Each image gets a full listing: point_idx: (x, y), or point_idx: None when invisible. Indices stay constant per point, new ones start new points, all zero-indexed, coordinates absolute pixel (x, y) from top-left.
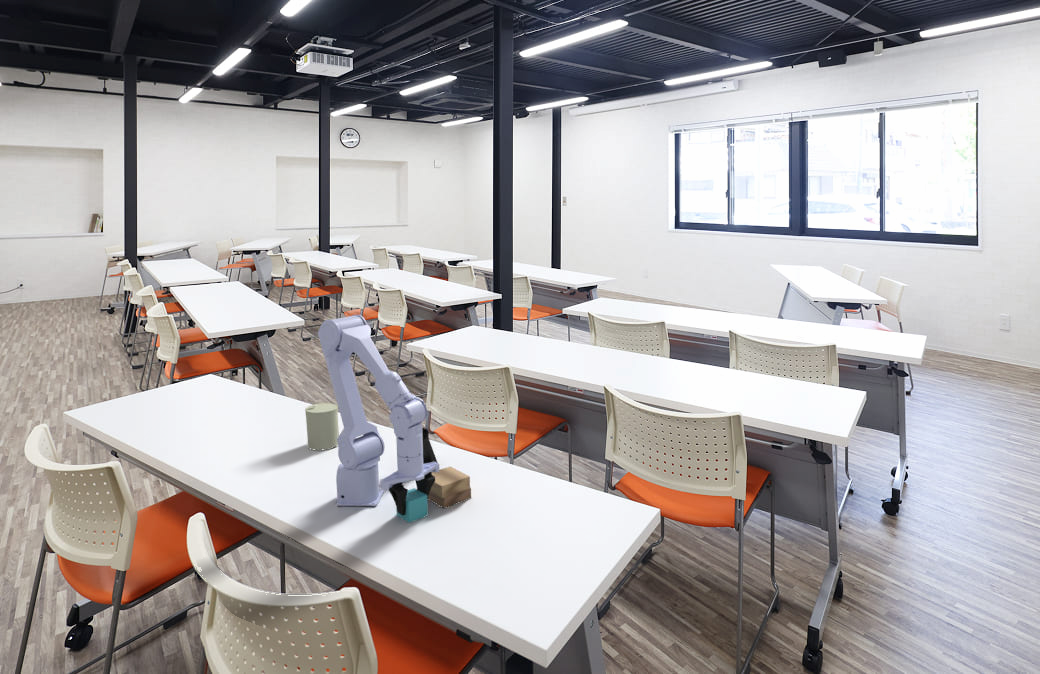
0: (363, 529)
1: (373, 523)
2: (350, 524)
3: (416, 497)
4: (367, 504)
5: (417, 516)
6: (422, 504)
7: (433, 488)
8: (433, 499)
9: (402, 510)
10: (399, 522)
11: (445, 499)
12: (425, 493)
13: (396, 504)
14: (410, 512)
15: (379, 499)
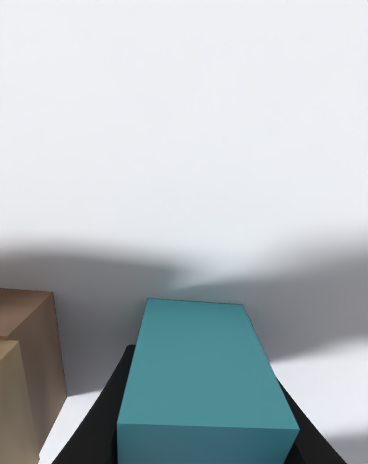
0: (362, 373)
1: (313, 379)
2: (352, 413)
3: (206, 440)
4: None
5: (202, 312)
6: (171, 358)
7: (5, 440)
8: (52, 367)
9: (277, 379)
10: (260, 331)
11: (8, 326)
12: (110, 442)
13: None
14: (251, 344)
15: None
